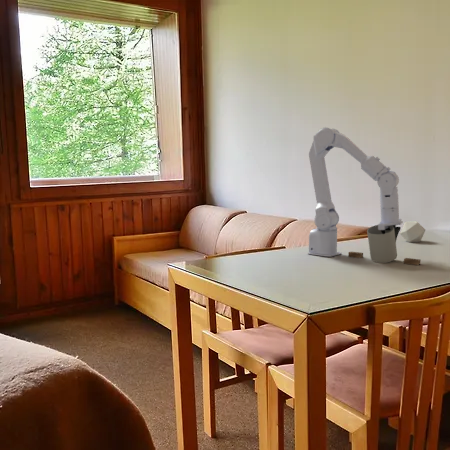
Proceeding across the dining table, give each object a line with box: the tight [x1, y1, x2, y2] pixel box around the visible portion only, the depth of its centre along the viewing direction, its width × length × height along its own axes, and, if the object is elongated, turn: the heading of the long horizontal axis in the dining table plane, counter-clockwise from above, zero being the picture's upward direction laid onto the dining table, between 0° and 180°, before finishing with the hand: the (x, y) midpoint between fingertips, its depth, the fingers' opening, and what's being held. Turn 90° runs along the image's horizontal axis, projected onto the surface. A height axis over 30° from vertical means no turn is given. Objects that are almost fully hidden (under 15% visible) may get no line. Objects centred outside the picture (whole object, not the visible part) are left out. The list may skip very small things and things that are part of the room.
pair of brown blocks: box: [348, 251, 421, 266], centre depth 167 cm, size 24×2×2 cm, turn 49°
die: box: [399, 220, 426, 243], centre depth 204 cm, size 8×9×10 cm
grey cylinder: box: [366, 224, 398, 264], centre depth 165 cm, size 8×8×10 cm
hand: (391, 248), depth 168 cm, fingers closed, pressing on grey cylinder
